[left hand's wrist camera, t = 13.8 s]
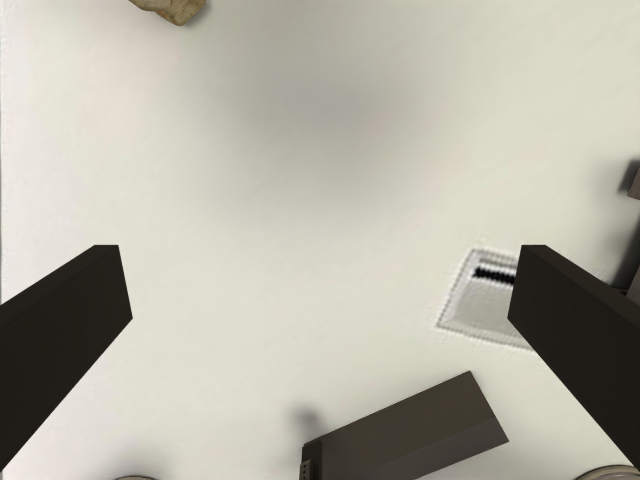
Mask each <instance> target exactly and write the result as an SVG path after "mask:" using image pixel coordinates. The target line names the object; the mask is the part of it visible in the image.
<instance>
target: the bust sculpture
mask: <svg viewBox="0 0 640 480" xmlns="http://www.w3.org/2000/svg"><path fill="white" fill-rule="evenodd" d="M118 480H151V479H147V478H142V477H126V478H121V479H118Z"/></svg>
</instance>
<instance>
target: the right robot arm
mask: <svg viewBox="0 0 640 480" xmlns="http://www.w3.org/2000/svg"><path fill="white" fill-rule="evenodd" d="M299 480H322V442H321V441H320V440H317V441H315V442H313V443H311V444H309V445H306V446H304V447H302V462H301V465H300V475H299ZM577 480H640V472H639V471H638V470H637V469H636V468H634V467H628V466H612V467H606V468H601V469H598V470H595V471H592V472H590V473H588V474H586V475H584V476H582V477H580V478H579V479H577Z"/></svg>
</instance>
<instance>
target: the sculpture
mask: <svg viewBox="0 0 640 480" xmlns="http://www.w3.org/2000/svg"><path fill="white" fill-rule="evenodd" d="M129 1H130V2H132V3H133V4H135V5H136V6H137V7H139V8H140V9H142V10H145V11H155V12H156V13H157V14H158V15H160V16H161V17H163V18H164V19H166V20H167V21H169V22H171V23H173V24H175V25H177V26H182V25H184V24H185V23H186V22H187V21H189V20H190V19H191V18H192V17H193V16H194V15H195V14H196V13H197V12H198V11H199V10H200V9H201V8H202V7H203V6H204V4H205V3H206V0H129Z"/></svg>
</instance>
